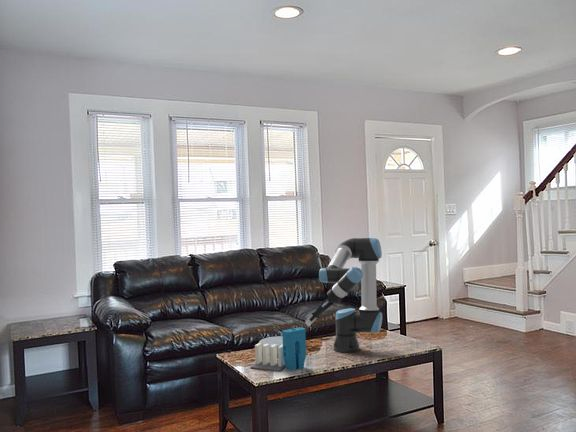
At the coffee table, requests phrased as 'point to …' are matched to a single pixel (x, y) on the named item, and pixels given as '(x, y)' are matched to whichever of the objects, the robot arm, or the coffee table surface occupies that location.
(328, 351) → the coffee table surface
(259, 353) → the domino
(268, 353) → the domino
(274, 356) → the domino
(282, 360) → the domino
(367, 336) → the coffee table surface
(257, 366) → the domino mat
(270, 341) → the serving bowl
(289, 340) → the block
